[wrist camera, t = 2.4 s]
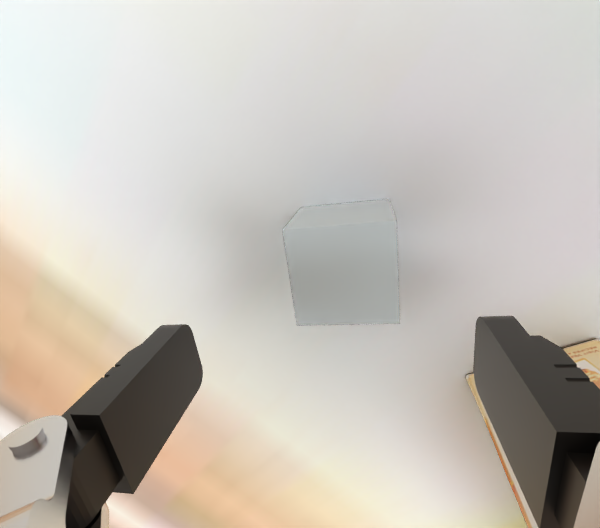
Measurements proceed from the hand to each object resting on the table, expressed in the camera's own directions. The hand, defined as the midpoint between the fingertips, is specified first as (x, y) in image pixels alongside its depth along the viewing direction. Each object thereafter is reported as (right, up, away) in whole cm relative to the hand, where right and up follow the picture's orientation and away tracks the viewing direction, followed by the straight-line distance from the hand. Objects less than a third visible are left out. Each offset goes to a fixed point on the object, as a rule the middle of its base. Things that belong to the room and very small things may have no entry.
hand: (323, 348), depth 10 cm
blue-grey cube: (+2, +3, +9) cm, 10 cm away
